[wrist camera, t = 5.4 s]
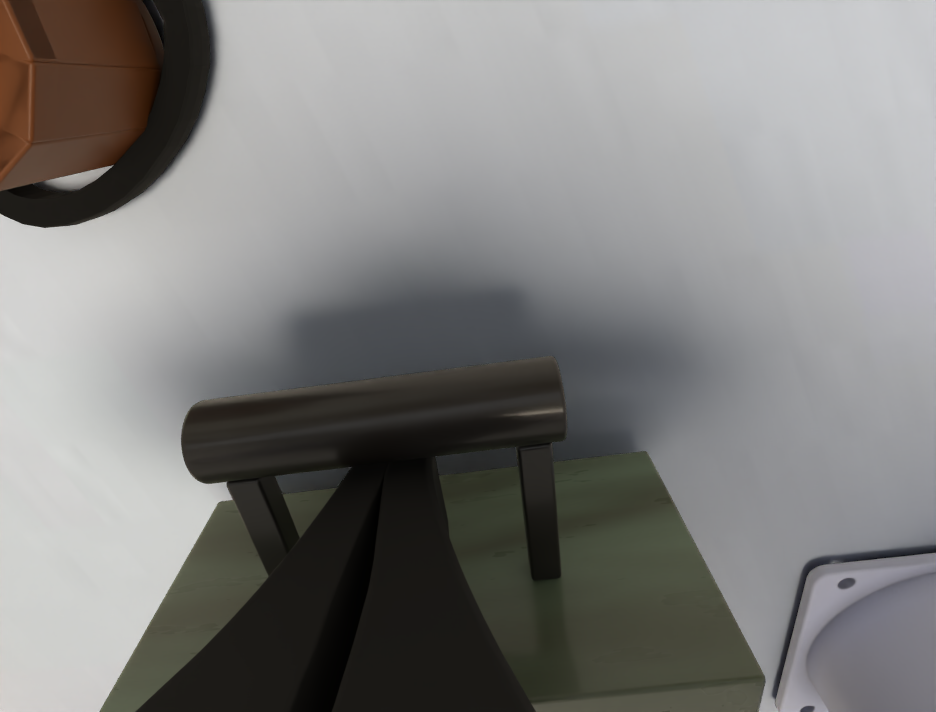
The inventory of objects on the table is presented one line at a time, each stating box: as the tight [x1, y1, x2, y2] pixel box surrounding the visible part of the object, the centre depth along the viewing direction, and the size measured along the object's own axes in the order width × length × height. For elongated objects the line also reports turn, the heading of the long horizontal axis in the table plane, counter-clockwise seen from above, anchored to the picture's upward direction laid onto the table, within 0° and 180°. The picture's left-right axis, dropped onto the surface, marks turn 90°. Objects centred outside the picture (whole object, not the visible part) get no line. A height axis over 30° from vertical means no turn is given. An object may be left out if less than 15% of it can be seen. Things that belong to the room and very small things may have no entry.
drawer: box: [100, 356, 766, 712], centre depth 13 cm, size 17×11×6 cm, turn 8°
